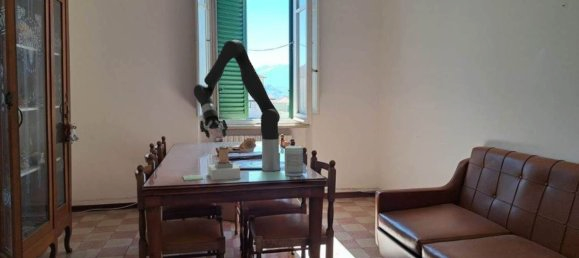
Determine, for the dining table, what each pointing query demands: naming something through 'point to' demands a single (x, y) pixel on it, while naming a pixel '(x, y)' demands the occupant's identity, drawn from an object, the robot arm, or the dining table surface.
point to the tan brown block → (223, 155)
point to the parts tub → (224, 171)
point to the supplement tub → (293, 161)
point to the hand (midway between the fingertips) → (216, 136)
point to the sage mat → (192, 177)
